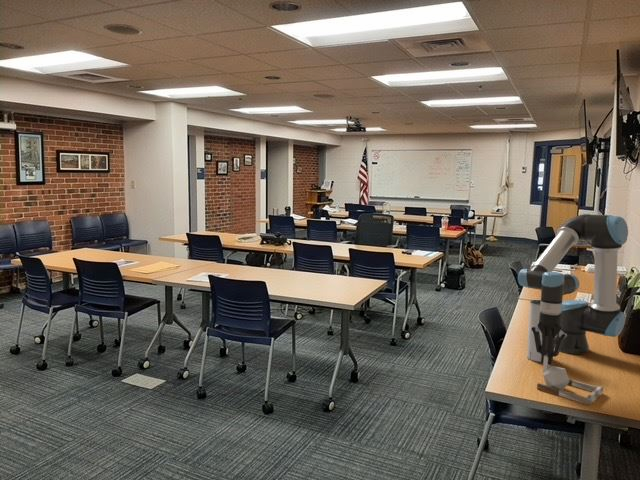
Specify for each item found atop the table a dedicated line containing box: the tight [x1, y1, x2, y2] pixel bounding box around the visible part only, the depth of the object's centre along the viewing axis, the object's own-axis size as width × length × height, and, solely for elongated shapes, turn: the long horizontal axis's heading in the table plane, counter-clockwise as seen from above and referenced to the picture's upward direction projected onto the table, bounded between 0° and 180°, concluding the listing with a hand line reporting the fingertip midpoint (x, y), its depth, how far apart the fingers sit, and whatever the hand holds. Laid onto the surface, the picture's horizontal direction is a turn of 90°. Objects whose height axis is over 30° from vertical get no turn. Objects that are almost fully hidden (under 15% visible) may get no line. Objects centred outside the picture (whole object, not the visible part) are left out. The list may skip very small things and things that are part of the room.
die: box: [542, 365, 570, 391], centre depth 186 cm, size 8×9×10 cm
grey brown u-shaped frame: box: [536, 378, 604, 406], centre depth 184 cm, size 14×18×3 cm
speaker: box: [526, 299, 549, 363], centre depth 217 cm, size 11×10×26 cm
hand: (546, 371), depth 190 cm, fingers closed
